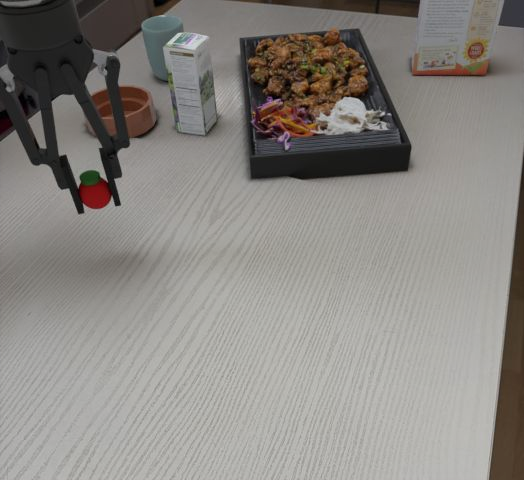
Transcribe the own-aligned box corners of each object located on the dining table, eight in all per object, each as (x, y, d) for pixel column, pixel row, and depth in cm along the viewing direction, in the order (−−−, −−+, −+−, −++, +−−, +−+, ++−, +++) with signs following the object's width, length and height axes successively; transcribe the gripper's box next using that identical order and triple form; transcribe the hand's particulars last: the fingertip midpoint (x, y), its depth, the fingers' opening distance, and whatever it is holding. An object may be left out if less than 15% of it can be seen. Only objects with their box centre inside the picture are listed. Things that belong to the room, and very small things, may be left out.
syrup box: (189, 117, 100) (175, 31, 88) (219, 120, 98) (209, 34, 87) (176, 132, 96) (160, 45, 85) (206, 136, 95) (194, 48, 84)
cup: (144, 77, 111) (133, 23, 103) (175, 64, 114) (166, 11, 106) (166, 89, 107) (156, 34, 99) (197, 75, 110) (190, 21, 103)
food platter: (407, 170, 85) (418, 106, 77) (251, 183, 85) (246, 120, 77) (357, 51, 114) (362, -5, 106) (240, 60, 114) (236, 5, 106)
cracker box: (482, 63, 108) (514, -67, 91) (485, 76, 104) (520, -56, 88) (410, 62, 109) (429, -65, 93) (410, 75, 106) (431, -55, 89)
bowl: (75, 135, 97) (67, 110, 94) (117, 104, 104) (111, 80, 101) (129, 149, 93) (123, 124, 90) (169, 116, 100) (165, 92, 97)
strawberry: (77, 210, 68) (65, 180, 65) (97, 193, 70) (87, 163, 67) (102, 219, 67) (91, 188, 64) (121, 201, 69) (112, 170, 66)
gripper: (-70, 21, 47) (31, 236, 65) (125, -8, 49) (170, 206, 67) (-64, -8, 51) (29, 200, 69) (115, -33, 54) (159, 174, 72)
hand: (98, 203), depth 68 cm, fingers closed on strawberry, 4 cm apart
